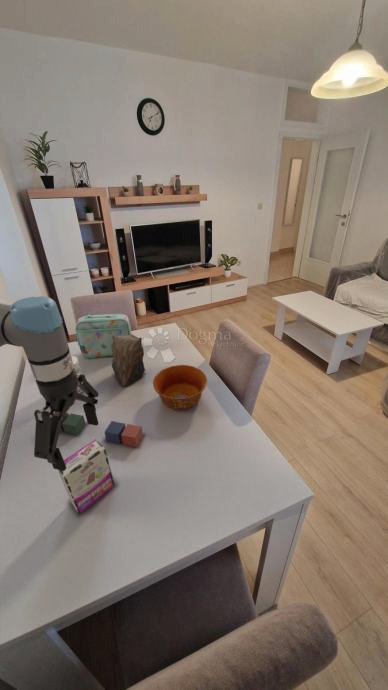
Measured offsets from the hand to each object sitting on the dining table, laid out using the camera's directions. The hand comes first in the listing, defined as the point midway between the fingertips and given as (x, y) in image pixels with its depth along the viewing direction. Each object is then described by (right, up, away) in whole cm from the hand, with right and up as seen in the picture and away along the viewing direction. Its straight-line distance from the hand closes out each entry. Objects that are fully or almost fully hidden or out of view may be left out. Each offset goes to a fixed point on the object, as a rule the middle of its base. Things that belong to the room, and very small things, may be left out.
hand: (78, 444), depth 67 cm
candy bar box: (0, -18, +11) cm, 21 cm away
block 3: (+2, -8, +28) cm, 29 cm away
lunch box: (-17, +20, +76) cm, 81 cm away
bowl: (+23, +2, +45) cm, 50 cm away
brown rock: (-2, +9, +57) cm, 58 cm away
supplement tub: (-23, +5, +50) cm, 55 cm away
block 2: (-14, -6, +31) cm, 35 cm away
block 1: (-20, -5, +32) cm, 38 cm away
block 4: (+7, -9, +27) cm, 29 cm away
